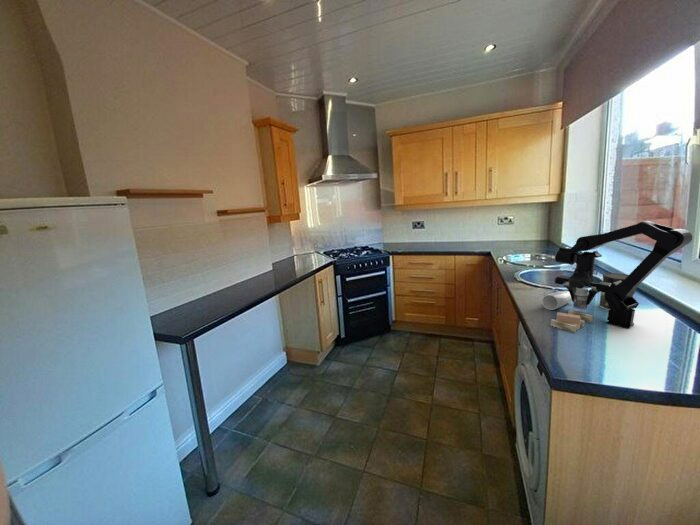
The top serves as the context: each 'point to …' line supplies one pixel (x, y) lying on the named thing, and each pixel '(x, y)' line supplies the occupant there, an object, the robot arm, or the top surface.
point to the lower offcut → (575, 325)
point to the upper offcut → (568, 318)
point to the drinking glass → (556, 300)
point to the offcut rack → (569, 326)
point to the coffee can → (610, 279)
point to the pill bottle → (580, 298)
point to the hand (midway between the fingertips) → (580, 303)
